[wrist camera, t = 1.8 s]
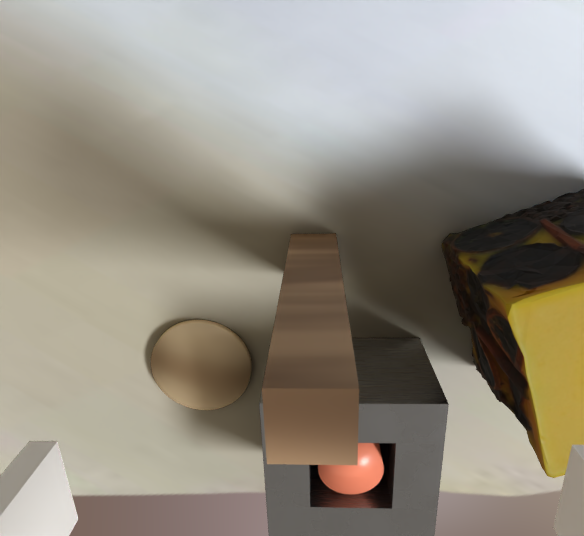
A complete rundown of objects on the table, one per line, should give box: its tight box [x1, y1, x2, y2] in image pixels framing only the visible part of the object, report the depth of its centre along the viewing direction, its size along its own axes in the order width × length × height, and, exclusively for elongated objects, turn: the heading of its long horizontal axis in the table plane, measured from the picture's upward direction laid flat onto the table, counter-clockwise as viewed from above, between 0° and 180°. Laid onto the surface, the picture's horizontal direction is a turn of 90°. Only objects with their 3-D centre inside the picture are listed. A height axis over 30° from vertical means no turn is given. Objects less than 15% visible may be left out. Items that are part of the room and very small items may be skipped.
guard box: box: [259, 338, 448, 536], centre depth 29 cm, size 10×10×7 cm
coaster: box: [151, 320, 252, 410], centre depth 31 cm, size 7×7×1 cm
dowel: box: [262, 233, 359, 465], centre depth 21 cm, size 3×3×16 cm
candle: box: [442, 189, 584, 478], centre depth 24 cm, size 10×10×10 cm
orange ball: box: [318, 443, 384, 494], centre depth 28 cm, size 4×4×4 cm
